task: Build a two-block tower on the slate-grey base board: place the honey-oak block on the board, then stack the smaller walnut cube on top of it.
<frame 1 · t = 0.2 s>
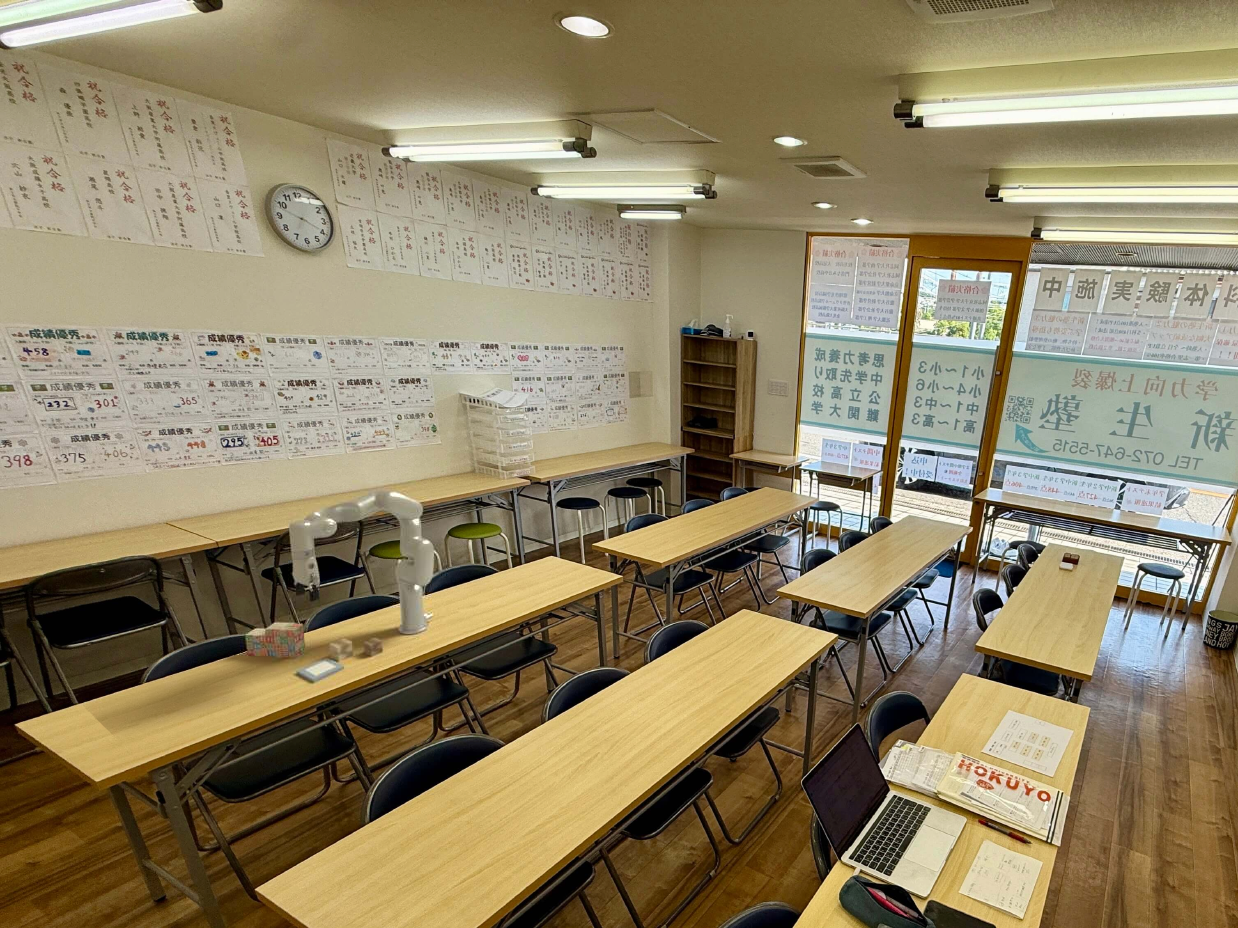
hand: (307, 597, 218), 30 cm above the table, fingers open, 9 cm apart
walnut cube: (373, 652, 238), on the table
oak block: (341, 656, 235), on the table
base board: (320, 671, 224), on the table
stack of blocks: (277, 653, 238), on the table
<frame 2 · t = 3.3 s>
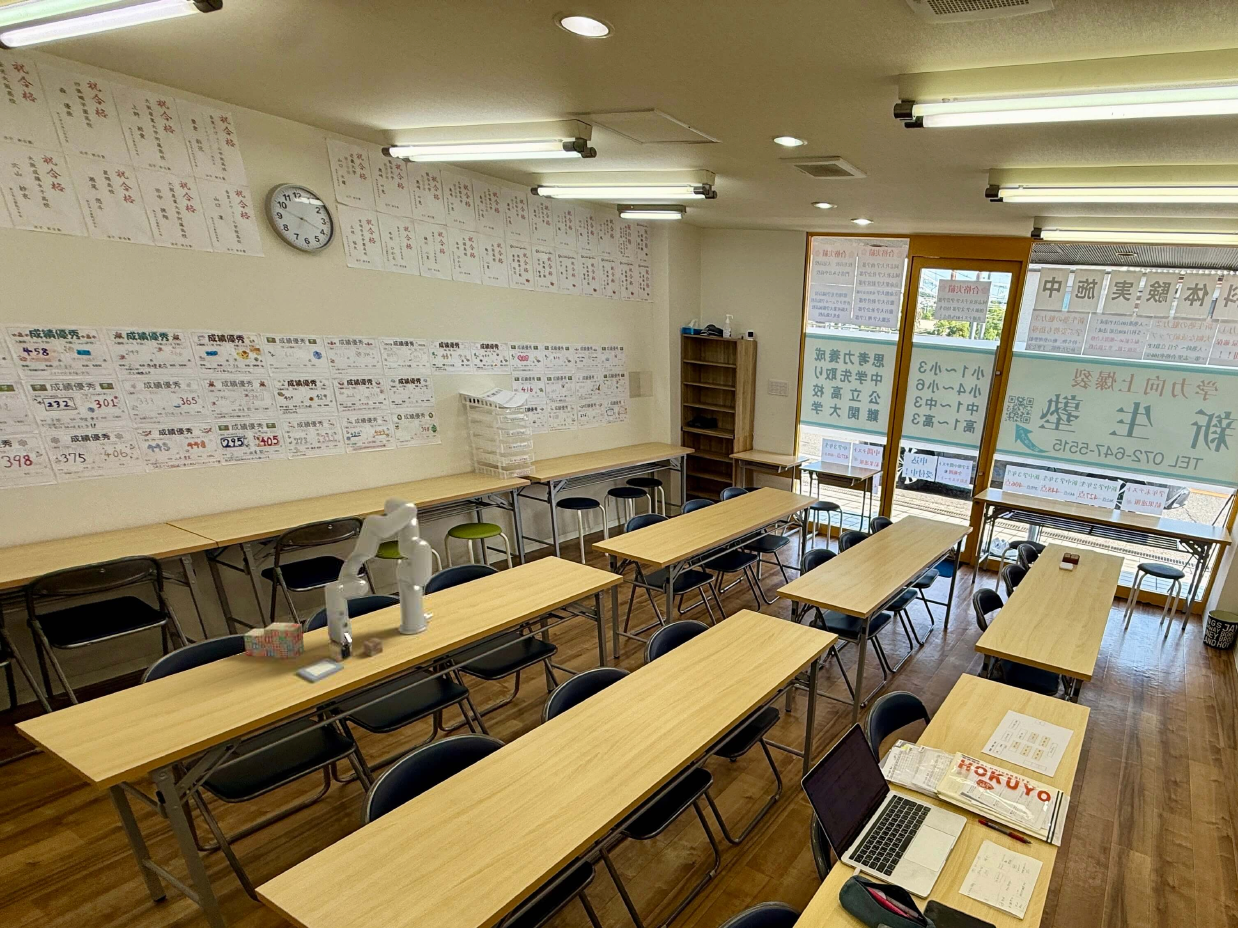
hand: (341, 654, 234), 1 cm above the table, fingers closed on oak block, 6 cm apart
oak block: (341, 656, 235), on the table, touching gripper
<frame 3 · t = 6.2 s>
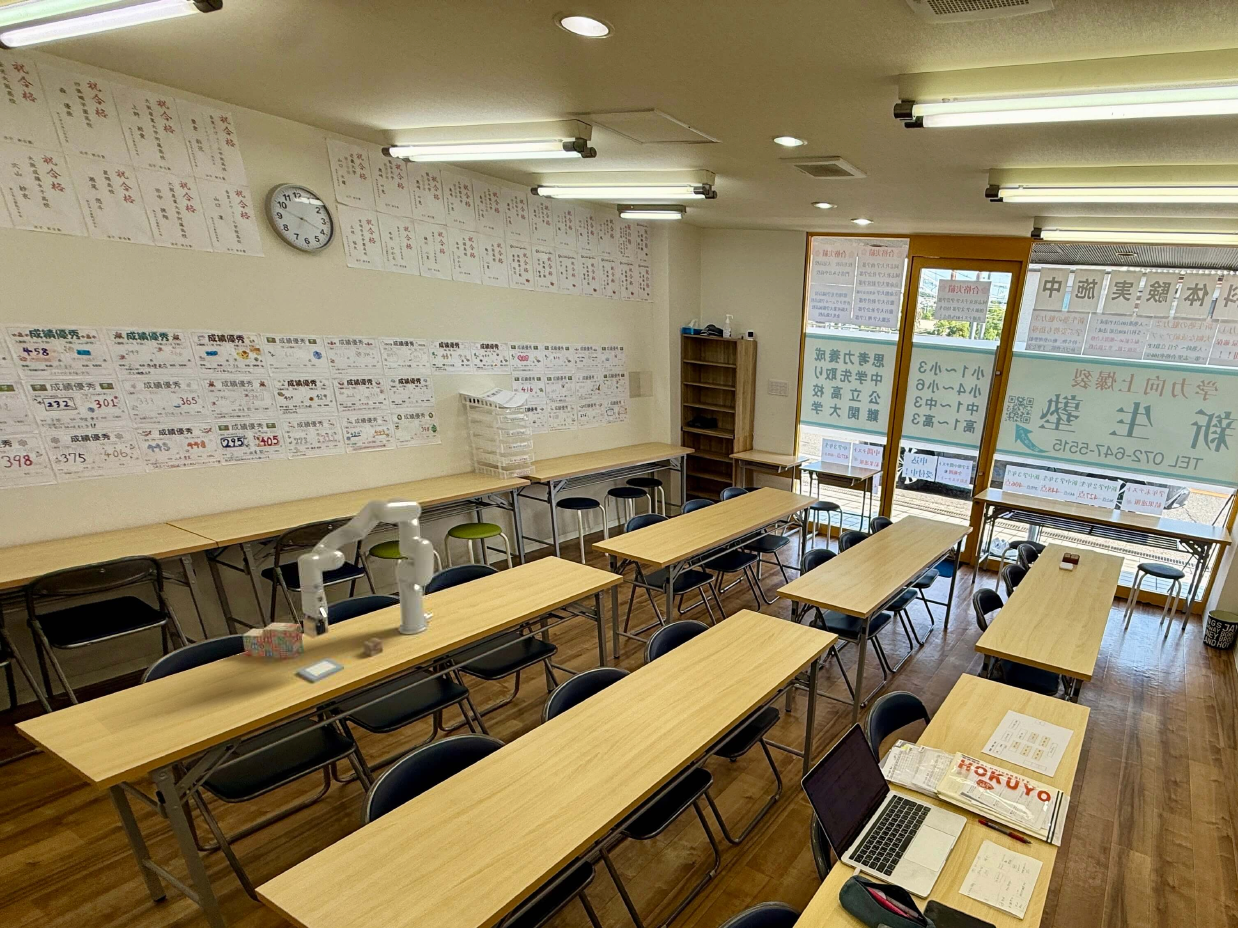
hand: (316, 631, 221), 17 cm above the table, fingers closed on oak block, 6 cm apart
oak block: (316, 633, 221), point 16 cm above the table, touching gripper
when the fingers open (3 cm above the table, at t = 9.0 s): oak block stays where it is, resting on base board.
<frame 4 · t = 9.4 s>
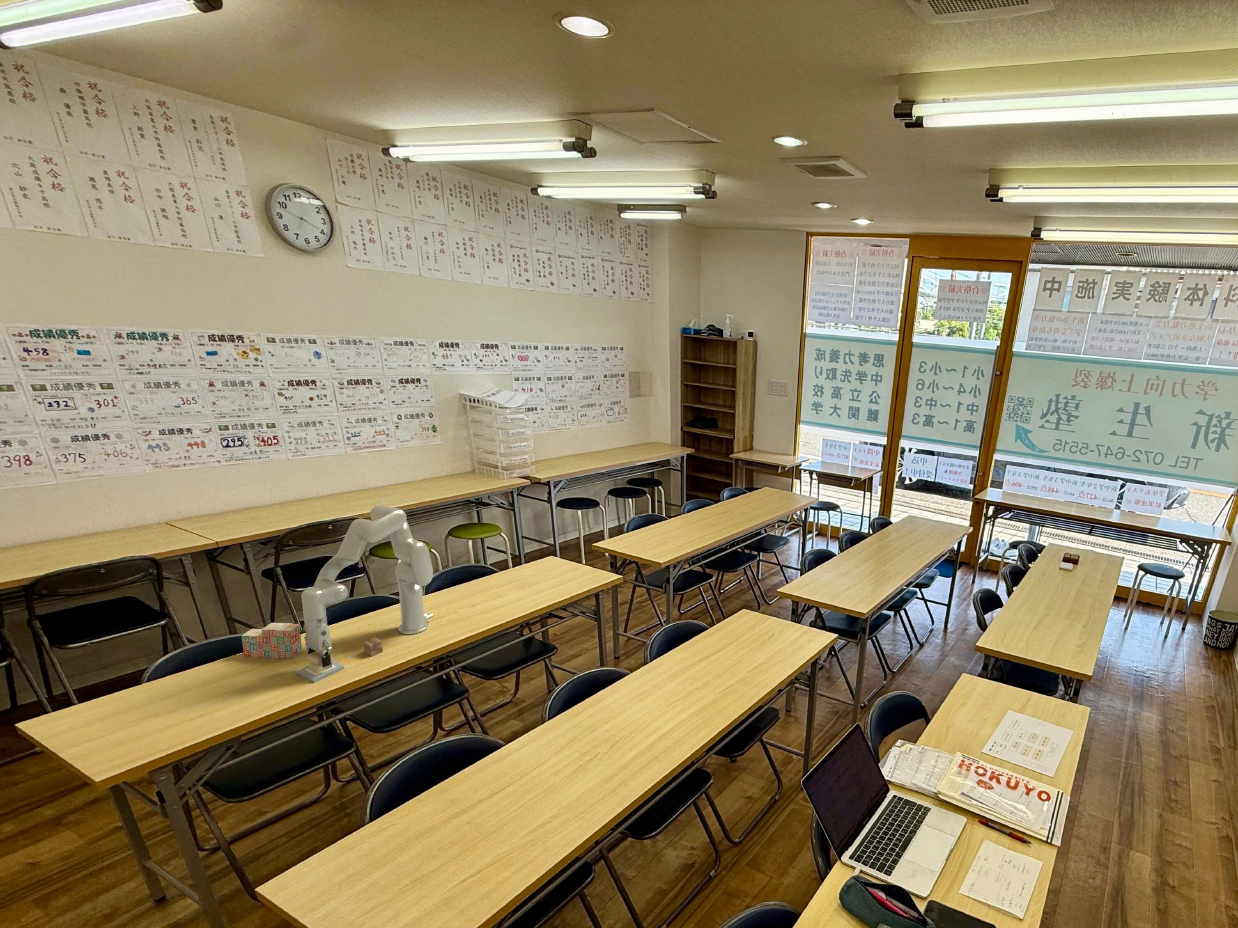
hand: (319, 662, 223), 4 cm above the table, fingers open, 9 cm apart
oak block: (320, 667, 223), point 1 cm above the table, touching base board
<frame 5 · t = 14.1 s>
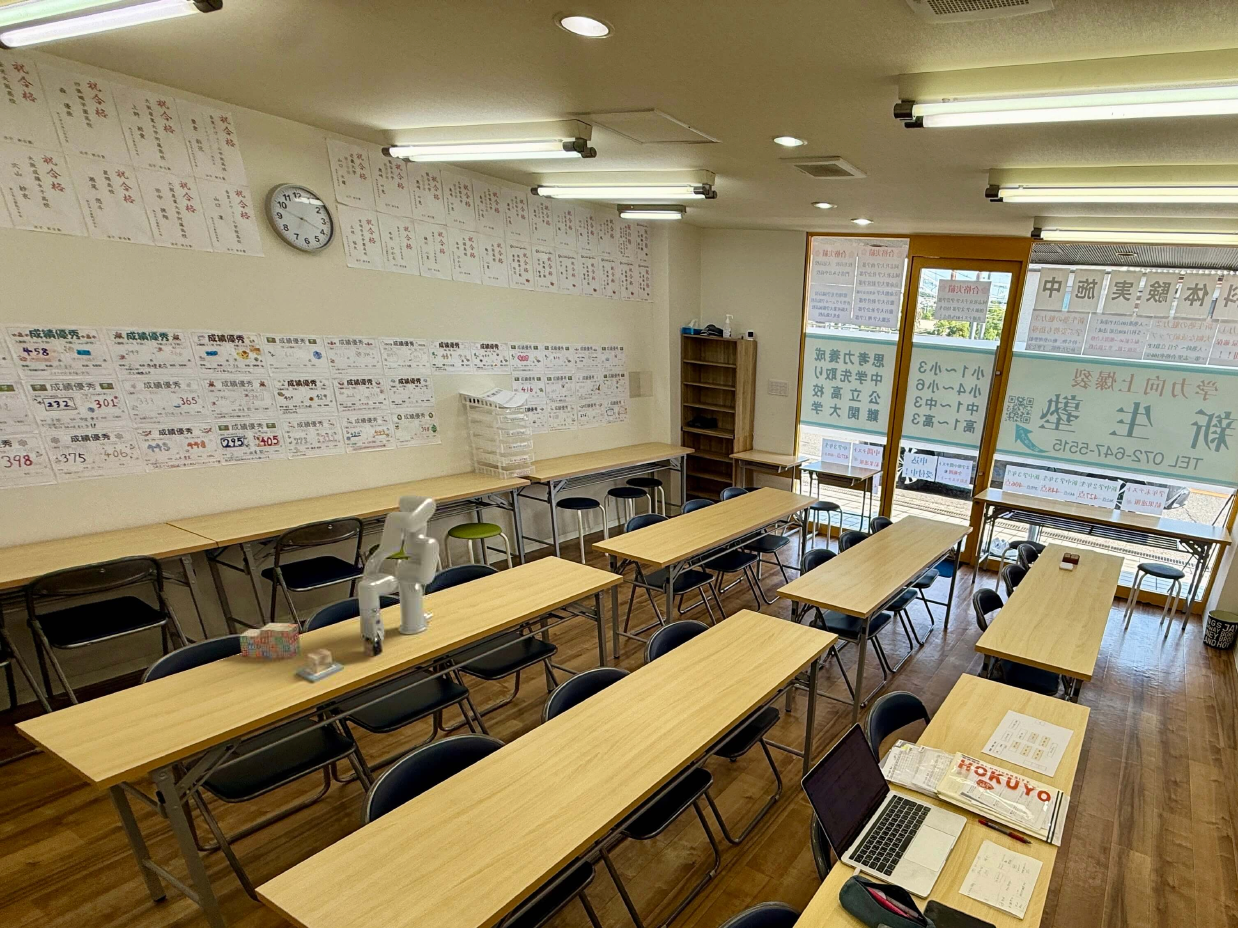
hand: (373, 651, 238), 0 cm above the table, fingers closed on walnut cube, 5 cm apart
walnut cube: (373, 652, 238), on the table, touching gripper
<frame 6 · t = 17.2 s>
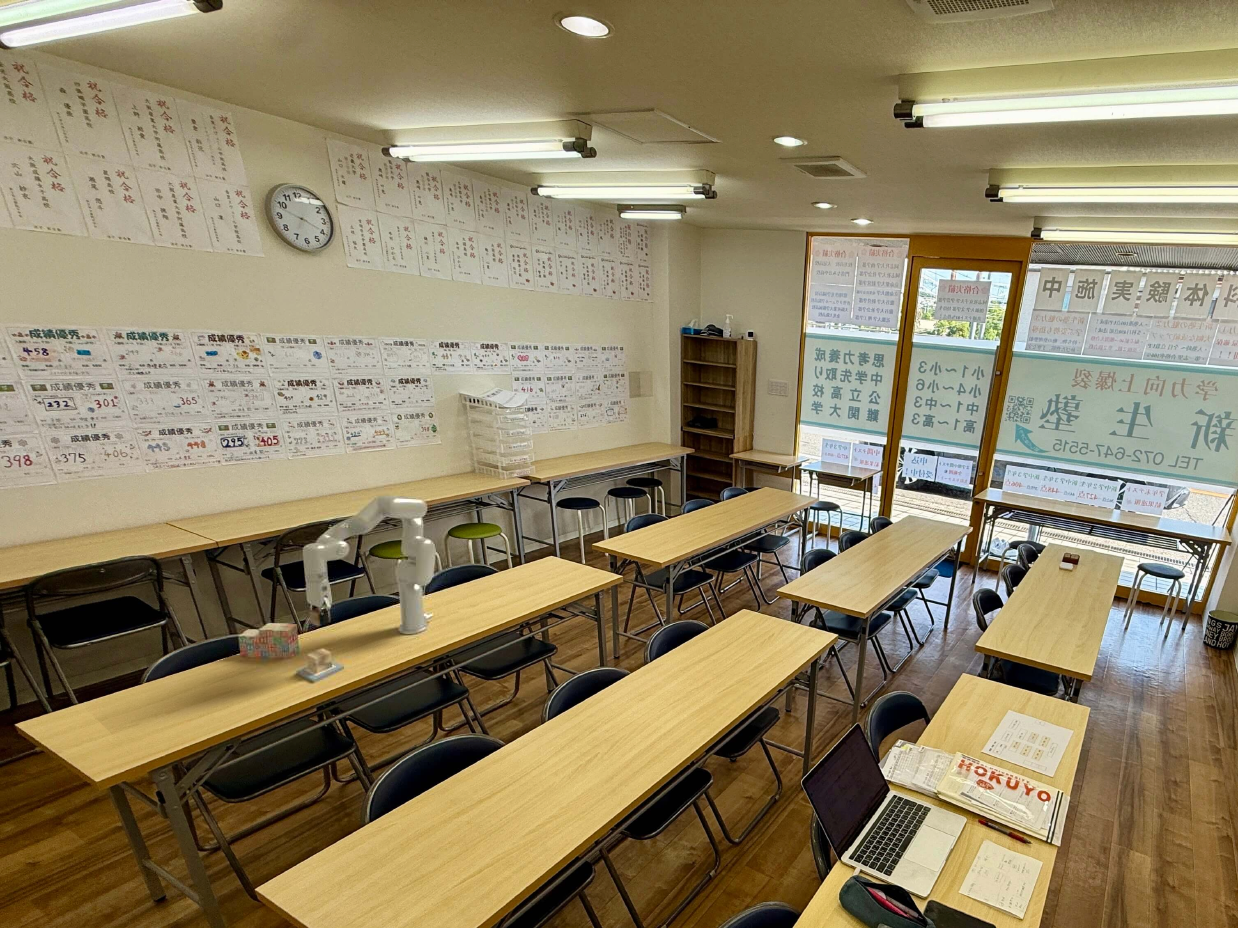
hand: (320, 621, 221), 20 cm above the table, fingers closed on walnut cube, 5 cm apart
walnut cube: (320, 622, 221), point 20 cm above the table, touching gripper
when the fingers open (9 cm above the table, at t = 20.4 s): walnut cube stays where it is, resting on oak block.
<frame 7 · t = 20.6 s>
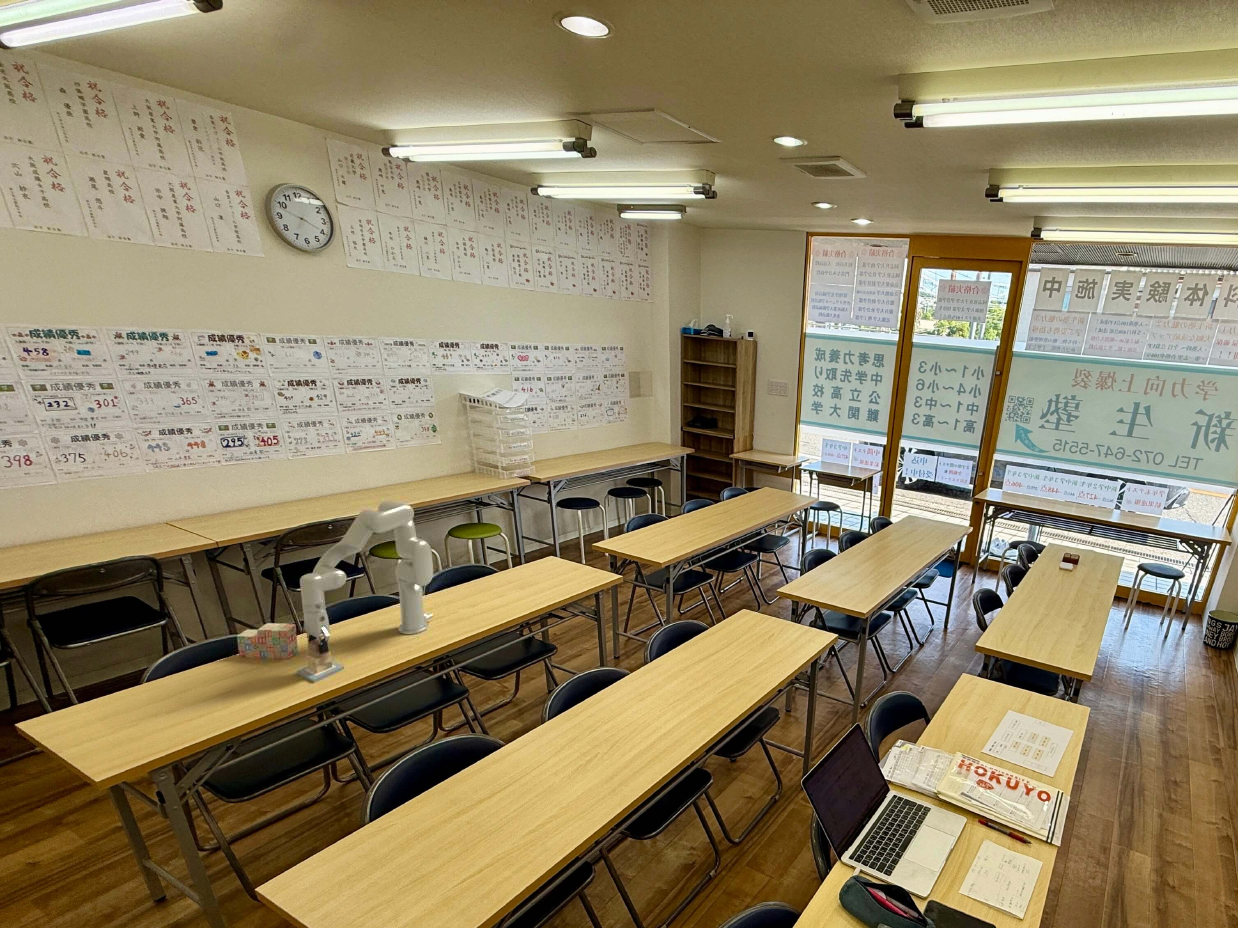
hand: (318, 649, 222), 9 cm above the table, fingers open, 6 cm apart
walnut cube: (319, 653, 222), point 7 cm above the table, touching oak block
oak block: (320, 667, 223), point 1 cm above the table, touching base board, walnut cube
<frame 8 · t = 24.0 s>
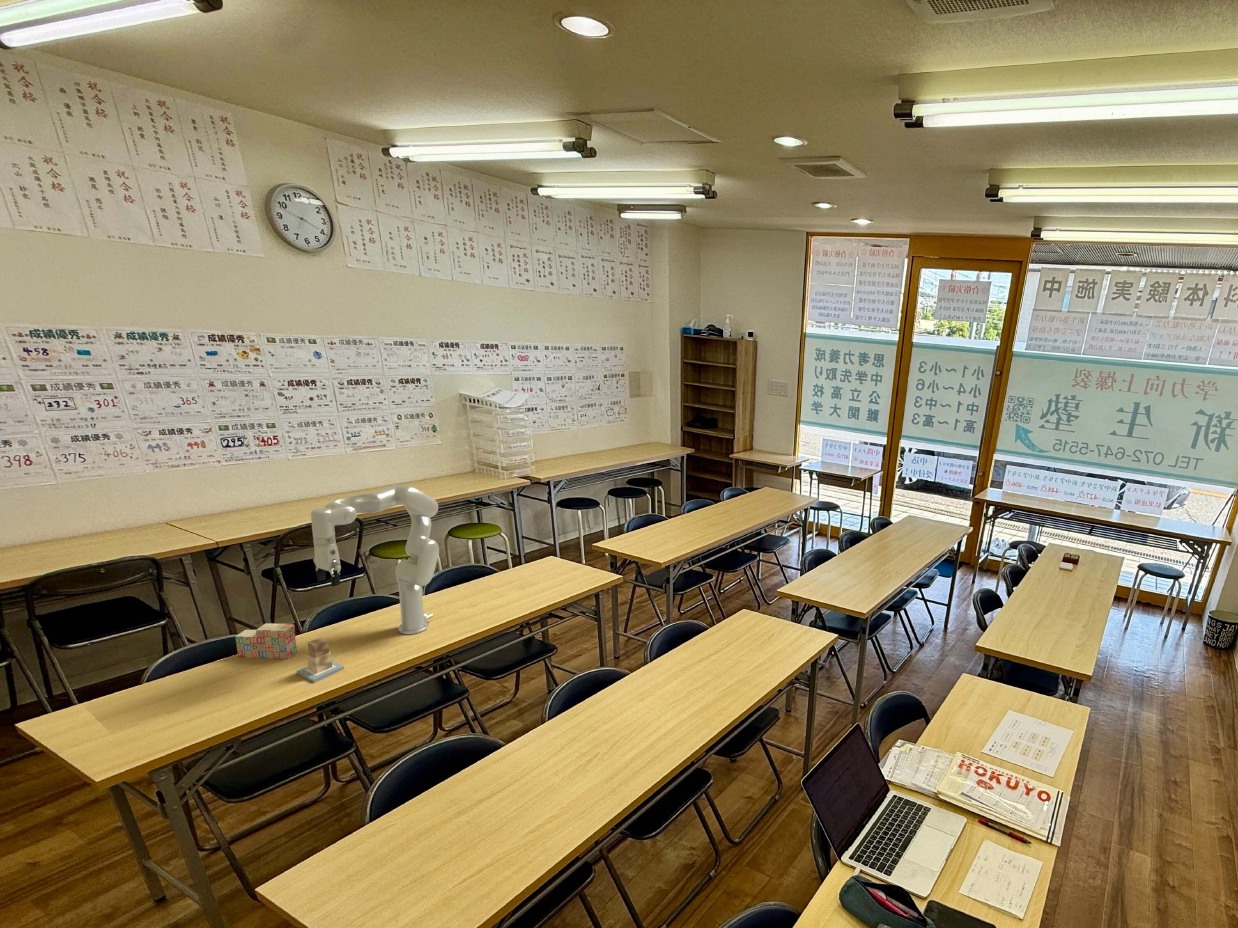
hand: (328, 582, 224), 33 cm above the table, fingers open, 9 cm apart
at the end: oak block inside the target area on the base board (0.1 cm from its centre), point 1.3 cm above the base board's base; oak block tilted 0°; walnut cube 0.0 cm off-centre on the oak block, point 6.0 cm above the oak block's base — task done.
